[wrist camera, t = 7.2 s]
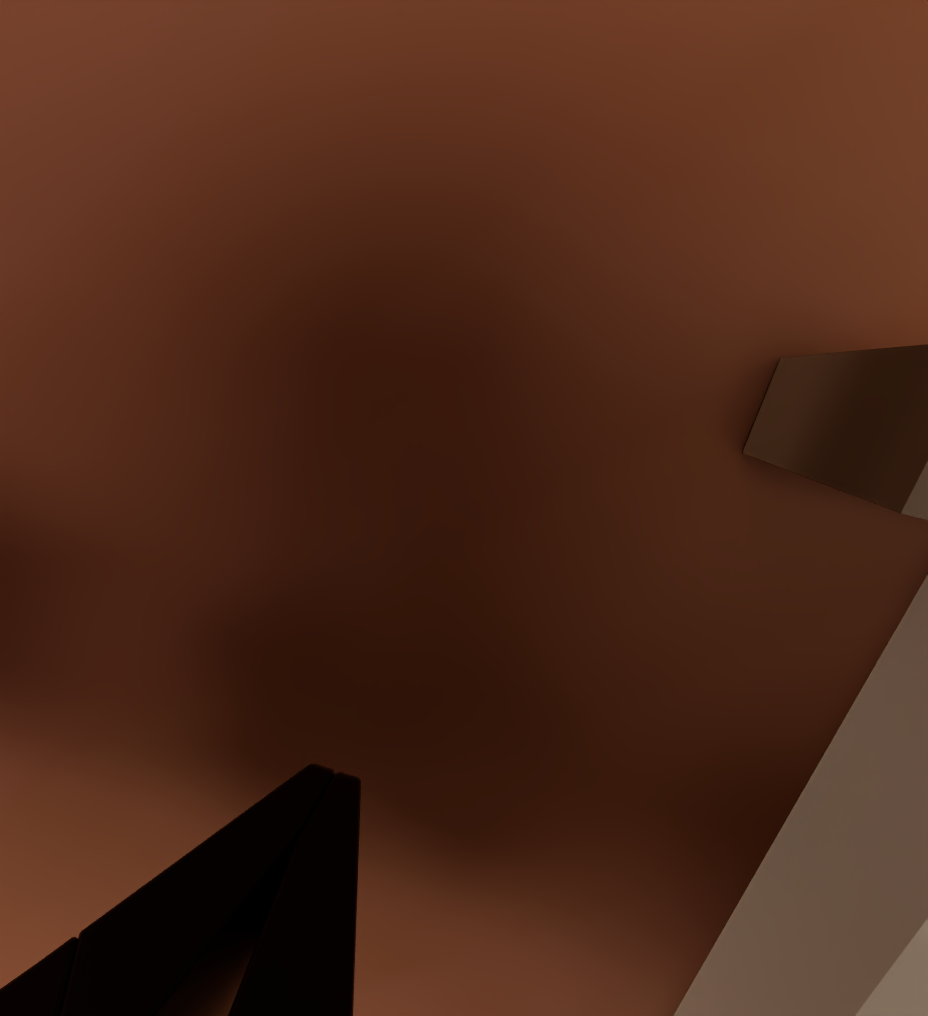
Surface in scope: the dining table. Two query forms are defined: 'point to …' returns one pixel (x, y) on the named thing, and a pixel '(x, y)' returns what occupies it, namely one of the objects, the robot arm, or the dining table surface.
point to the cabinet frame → (851, 424)
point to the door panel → (843, 868)
